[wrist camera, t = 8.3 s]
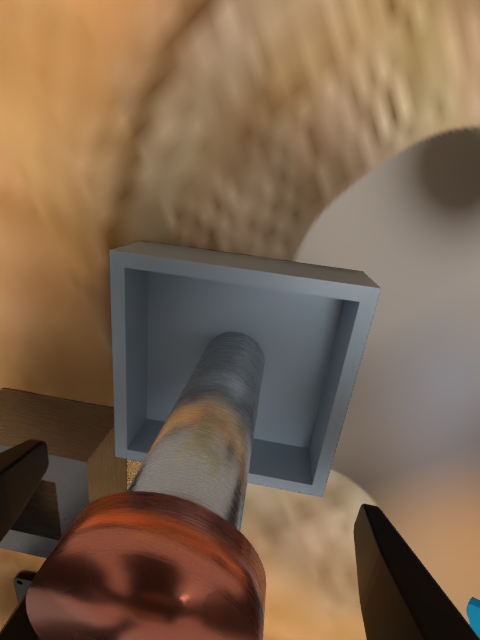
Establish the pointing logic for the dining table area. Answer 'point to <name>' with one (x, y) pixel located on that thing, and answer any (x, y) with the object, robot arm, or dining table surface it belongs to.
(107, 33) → the dining table surface
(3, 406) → the hitch block
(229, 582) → the pin
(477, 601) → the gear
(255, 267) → the tray
